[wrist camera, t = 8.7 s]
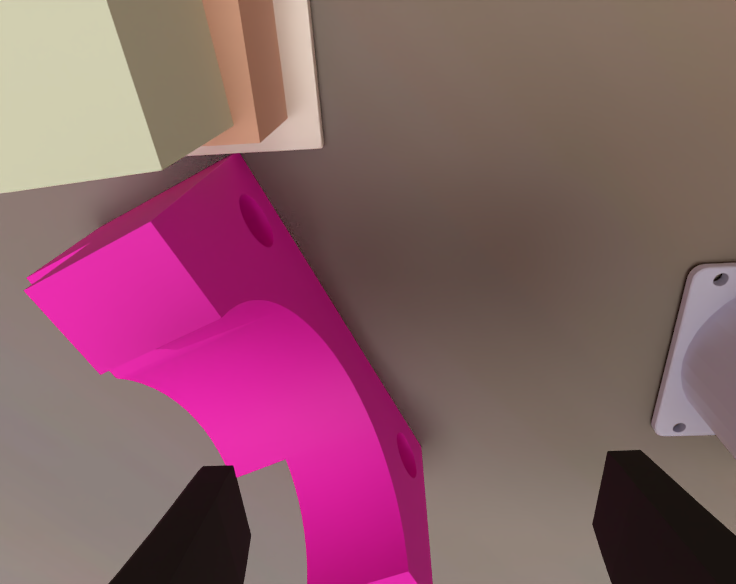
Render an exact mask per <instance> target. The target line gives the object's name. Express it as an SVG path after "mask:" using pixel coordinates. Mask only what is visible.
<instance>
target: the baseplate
mask: <svg viewBox="0 0 736 584" xmlns="http://www.w3.org/2000/svg"><path fill="white" fill-rule="evenodd" d="M273 7H274V15H275V23H276V31H277V38H278V46H279V54H280V62H281V69H282V77H283V85H284V93H285V100H286V108H287V116H288V119H286V120H285V121H284V122H283V123H282V124H281V125H280V126H279V127H277V128H276V129H275V130H274V131H273V132H272V133H271V134H270V135H269V136H267V137H266V138H265V139H264V140H263V141H262V142H261V143H251V144H234V145H217V146H200V147H199V148H197V149H196V150H194V151H192V152H191V153H189V154H188V155H186V156H197V155H215V154H232V153H249V152H267V151H284V150H302V149H319V148H323V146H324V139H323V129H322V119H321V109H320V99H319V89H318V79H317V69H316V59H315V49H314V39H313V29H312V19H311V9H310V0H273Z"/></svg>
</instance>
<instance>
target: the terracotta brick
mask: <svg viewBox="0 0 736 584" xmlns="http://www.w3.org/2000/svg"><path fill="white" fill-rule="evenodd" d="M202 2H203V6H204V10H205V14H206V18H207V22H208V26H209V30H210V34H211V38H212V42H213V46H214V50H215V54H216V58H217V61H218V65H219V69H220V73H221V77H222V81H223V85H224V89H225V93H226V97H227V101H228V105H229V109H230V113H231V116H232V120H233V124H234V126H232V127H231V128H229V129H228V130H226V131H224V132H223V133H221V134H220V135H218V136H216V137H215V138H213V139H212V140H210V141H208V142H207V143H205V144H204V145H202V146H217V145H234V144H251V143H261V142H262V141H263V140H264V139H265V138H266V137H267V136H269V135H270V134H271V133H272V132H273V131H274V130H275V129H276V128H277V127H279V126H280V125H281V124H282V123H283V122H284V121H285V120H286V119H288V116H287V108H286V100H285V93H284V85H283V77H282V69H281V62H280V54H279V46H278V38H277V31H276V23H275V15H274V7H273V0H202Z"/></svg>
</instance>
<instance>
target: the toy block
mask: <svg viewBox="0 0 736 584" xmlns="http://www.w3.org/2000/svg"><path fill="white" fill-rule="evenodd" d="M27 279H28V280H29V281H30V283H31V284H32V285H31V286H29V287H28V288H26V289H25V290H24V291H25V293H26V294H27V295H28V296H29V297H30V298H31V299H32V300H33V301H34V302H35V304H36V305H37V306H38V307H39V308H40V309H41V310H42V311H43V312H44V313H45V315H46V316H47V317H48V318H49V319H50V320H51V321H52V322H53V323H54V324H55V326H56V327H57V328H58V329H59V330H60V331H61V332H62V333H63V334H64V335H65V337H66V338H67V339H68V340H69V341H70V342H71V343H72V344H73V345H74V346H75V348H76V349H77V350H78V351H79V352H80V353H81V354H82V355H83V356H84V357H85V359H86V360H87V361H88V362H89V363H90V364H91V365H92V366H93V367H94V368H95V370H96V371H97V372H98V373H99V374H100V375H101V374H103V373H105V372H107V371H110V372H111V373H112V374H113V375H114V376H115V377H116V378H119V379H126V380H131V381H135V382H139V383H142V384H145V385H147V386H150V387H152V388H154V389H156V390H158V391H160V392H162V393H164V394H166V395H167V396H169V397H170V398H172V399H173V400H175V401H176V402H177V403H178V404H180V405H181V406H182V407H183V408H184V409H186V410H187V411H188V412H189V413H190V414H191V415H192V416H193V417H194V418H195V419H196V420H197V422H198V423H199V424H200V425H201V426H202V428H203V429H204V430H205V431H206V433H207V434H208V436H209V437H210V438H211V440H212V441H213V443H214V445H215V446H216V448H217V450H218V451H219V453H220V455H221V457H222V459H223V461H224V463H225V465H226V466H227V465H233V466H234V470H235V474H236V478H237V477H240V476H242V475H245V474H248V473H250V472H253V471H256V470H258V469H261V468H264V467H266V466H269V465H272V464H274V463H277V462H280V461H282V460H285V459H286V461H287V464H288V467H289V469H290V472H291V475H292V478H293V482H294V485H295V488H296V492H297V496H298V500H299V505H300V509H301V514H302V520H303V526H304V532H305V542H306V553H307V584H433V582H432V570H431V558H430V546H429V534H428V522H427V510H426V498H425V486H424V474H423V462H422V450H421V446H420V444H419V442H418V441H417V439H416V438H415V436H414V434H413V433H412V431H411V430H410V428H409V426H408V425H407V423H406V421H405V420H404V418H403V417H402V415H401V413H400V412H399V410H398V408H397V407H396V405H395V404H394V402H393V400H392V399H391V397H390V396H389V394H388V392H387V391H386V389H385V387H384V386H383V384H382V383H381V381H380V379H379V378H378V376H377V374H376V373H375V371H374V370H373V368H372V366H371V365H370V363H369V362H368V360H367V358H366V357H365V355H364V353H363V352H362V350H361V349H360V347H359V345H358V344H357V342H356V341H355V339H354V337H353V336H352V334H351V332H350V331H349V329H348V328H347V326H346V324H345V323H344V321H343V319H342V318H341V316H340V315H339V313H338V311H337V310H336V308H335V307H334V305H333V303H332V302H331V300H330V298H329V297H328V295H327V294H326V292H325V290H324V289H323V287H322V285H321V284H320V282H319V281H318V279H317V277H316V276H315V274H314V273H313V271H312V269H311V268H310V266H309V264H308V263H307V261H306V260H305V258H304V256H303V255H302V253H301V251H300V250H299V248H298V247H297V245H296V243H295V242H294V240H293V239H292V237H291V235H290V234H289V232H288V230H287V229H286V227H285V226H284V224H283V222H282V221H281V219H280V218H279V216H278V214H277V213H276V211H275V209H274V208H273V206H272V205H271V203H270V201H269V200H268V198H267V196H266V195H265V193H264V192H263V190H262V188H261V187H260V185H259V184H258V182H257V180H256V179H255V177H254V175H253V174H252V172H251V171H250V169H249V167H248V166H247V164H246V162H245V161H244V159H243V158H242V156H241V154H240V153H233V154H231V155H229V156H227V157H225V158H224V159H222V160H220V161H218V162H216V163H215V164H213V165H211V166H209V167H207V168H206V169H204V170H202V171H200V172H199V173H197V174H195V175H193V176H191V177H190V178H188V179H186V180H184V181H182V182H181V183H179V184H177V185H175V186H173V187H172V188H170V189H168V190H166V191H164V192H163V193H161V194H159V195H157V196H155V197H154V198H152V199H150V200H148V201H146V202H145V203H143V204H141V205H139V206H137V207H136V208H134V209H132V210H130V211H129V212H127V213H125V214H123V215H121V216H120V217H118V218H116V219H114V220H112V221H111V222H109V223H107V224H105V225H103V226H102V227H100V228H98V229H97V230H95V231H94V232H92V233H91V234H89V235H88V236H87V237H85V238H84V239H82V240H81V241H79V242H78V243H76V244H75V245H73V246H72V247H71V248H69V249H68V250H66V251H65V252H63V253H62V254H60V255H59V256H57V257H56V258H55V259H53V260H52V261H50V262H49V263H47V264H46V265H44V266H43V267H42V268H40V269H39V270H37V271H36V272H34V273H33V274H31V275H30V276H28V277H27Z"/></svg>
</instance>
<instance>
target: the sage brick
mask: <svg viewBox="0 0 736 584" xmlns="http://www.w3.org/2000/svg"><path fill="white" fill-rule="evenodd" d="M232 126H234V124H233V120H232V116H231V113H230V109H229V105H228V101H227V97H226V93H225V89H224V85H223V81H222V77H221V73H220V69H219V65H218V61H217V58H216V54H215V50H214V46H213V42H212V38H211V34H210V30H209V26H208V22H207V18H206V14H205V10H204V6H203V2H202V0H0V193H7V192H14V191H21V190H28V189H35V188H42V187H49V186H56V185H63V184H70V183H77V182H84V181H91V180H98V179H105V178H112V177H119V176H126V175H133V174H140V173H147V172H154V171H161V170H164V169H165V168H167V167H168V166H170V165H172V164H173V163H175V162H176V161H178V160H180V159H181V158H183V157H184V156H186V155H188V154H189V153H191V152H192V151H194V150H196V149H197V148H199V147H200V146H202V145H204V144H205V143H207V142H208V141H210V140H212V139H213V138H215V137H216V136H218V135H220V134H221V133H223V132H224V131H226V130H228V129H229V128H231V127H232Z"/></svg>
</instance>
